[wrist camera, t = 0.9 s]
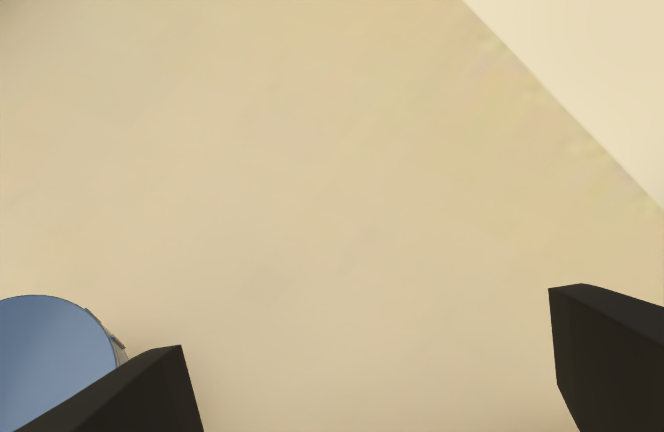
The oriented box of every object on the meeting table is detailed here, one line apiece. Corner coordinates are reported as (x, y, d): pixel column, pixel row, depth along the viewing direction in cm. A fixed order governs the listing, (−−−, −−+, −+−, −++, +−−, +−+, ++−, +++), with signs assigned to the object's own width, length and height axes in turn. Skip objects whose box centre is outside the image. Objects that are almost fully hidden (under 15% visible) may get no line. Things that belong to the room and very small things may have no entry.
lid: (30, 534, 16) (-3, 543, 14) (-86, 402, 17) (-133, 392, 15) (170, 391, 18) (159, 381, 16) (59, 280, 19) (34, 256, 17)
